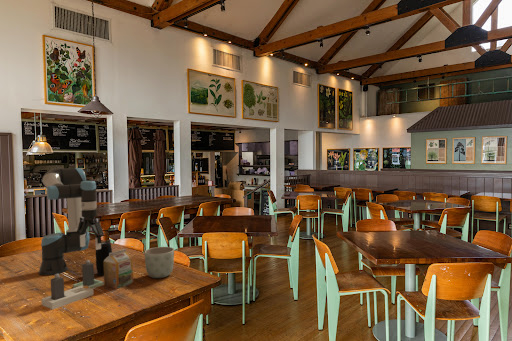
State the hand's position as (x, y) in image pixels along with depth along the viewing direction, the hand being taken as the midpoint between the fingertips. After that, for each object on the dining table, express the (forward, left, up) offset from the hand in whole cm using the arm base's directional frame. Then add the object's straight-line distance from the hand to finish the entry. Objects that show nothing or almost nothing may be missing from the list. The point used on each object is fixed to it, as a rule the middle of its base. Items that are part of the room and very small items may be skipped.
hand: (90, 247), depth 188 cm
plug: (0, -2, -20) cm, 21 cm away
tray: (0, -2, -21) cm, 21 cm away
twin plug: (+9, -23, -20) cm, 32 cm away
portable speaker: (-12, +15, -21) cm, 29 cm away
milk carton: (+12, +8, -21) cm, 26 cm away
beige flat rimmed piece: (+9, -18, -21) cm, 29 cm away
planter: (+20, +30, -21) cm, 42 cm away
